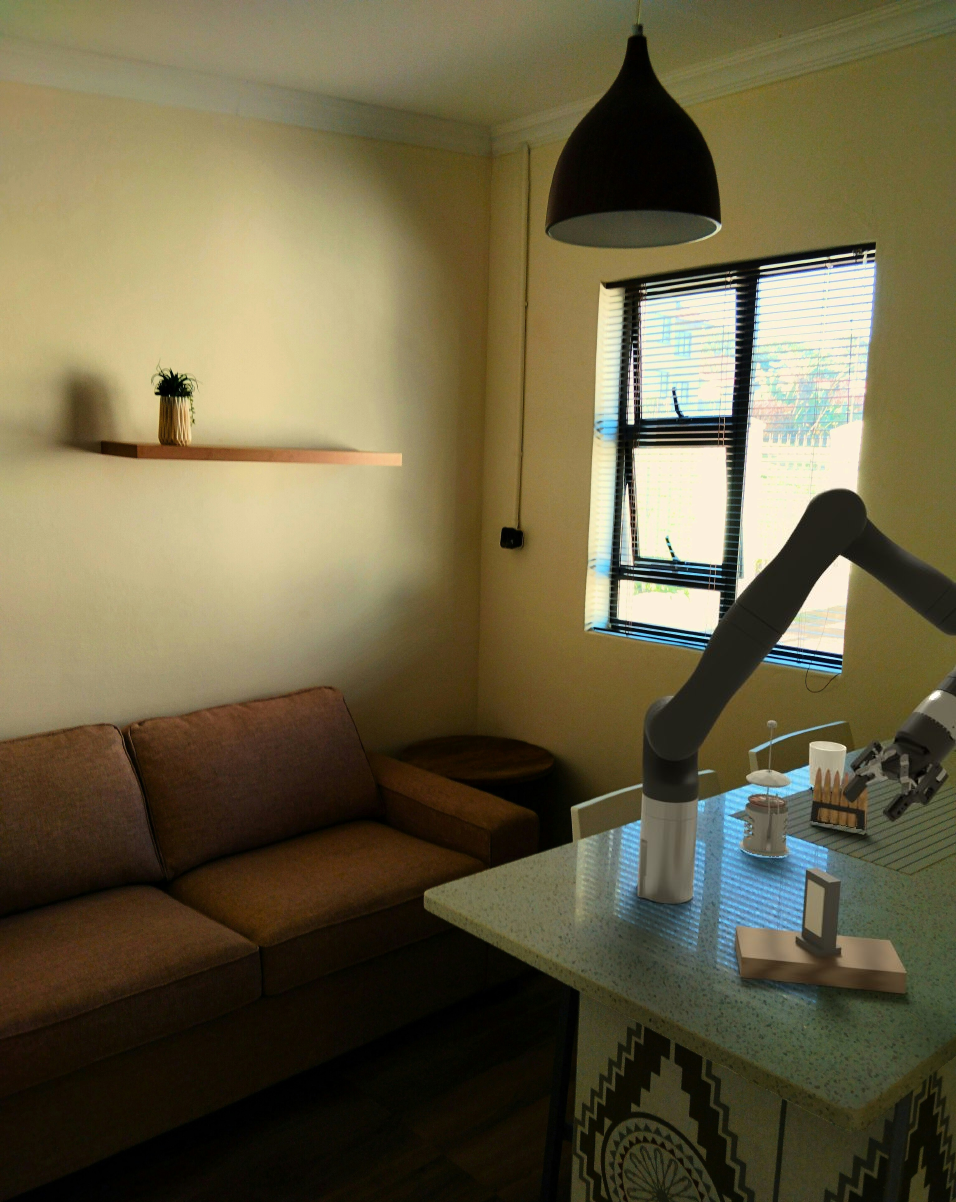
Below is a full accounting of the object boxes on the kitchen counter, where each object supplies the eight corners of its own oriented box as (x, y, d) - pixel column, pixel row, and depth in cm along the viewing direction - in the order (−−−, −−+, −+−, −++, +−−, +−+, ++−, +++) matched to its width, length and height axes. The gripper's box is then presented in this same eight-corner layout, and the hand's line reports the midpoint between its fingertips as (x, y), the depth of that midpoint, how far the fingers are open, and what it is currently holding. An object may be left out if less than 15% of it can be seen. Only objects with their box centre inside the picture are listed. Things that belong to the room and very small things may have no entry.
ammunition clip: (866, 833, 203) (870, 774, 201) (864, 835, 201) (868, 777, 199) (811, 822, 208) (815, 765, 207) (809, 824, 207) (813, 767, 205)
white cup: (846, 787, 232) (849, 745, 231) (838, 796, 225) (841, 752, 224) (811, 781, 236) (814, 739, 235) (802, 790, 229) (805, 746, 228)
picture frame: (818, 958, 143) (823, 883, 141) (795, 942, 147) (800, 870, 146) (841, 954, 144) (846, 880, 143) (817, 938, 149) (822, 866, 147)
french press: (785, 841, 197) (793, 715, 193) (798, 864, 185) (807, 730, 182) (733, 838, 198) (741, 713, 194) (743, 861, 186) (751, 728, 183)
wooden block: (740, 977, 143) (742, 957, 143) (734, 945, 153) (735, 926, 152) (905, 993, 139) (906, 973, 139) (888, 959, 149) (889, 940, 149)
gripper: (888, 700, 157) (821, 777, 154) (960, 723, 144) (888, 808, 141) (912, 732, 159) (846, 808, 157) (985, 757, 146) (915, 841, 144)
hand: (866, 808), depth 149 cm, fingers open, 8 cm apart
